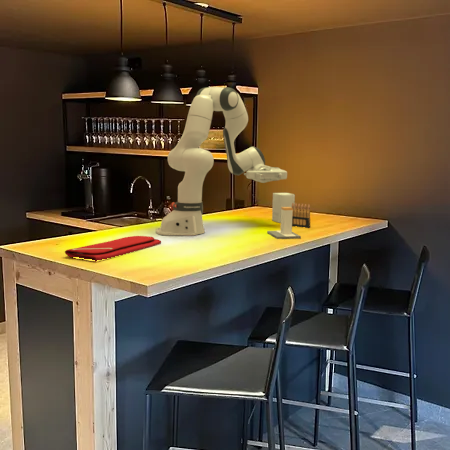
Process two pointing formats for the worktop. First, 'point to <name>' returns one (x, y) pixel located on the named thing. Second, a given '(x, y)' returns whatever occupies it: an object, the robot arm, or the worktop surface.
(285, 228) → the orange-capped beige pillar
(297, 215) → the ammunition clip
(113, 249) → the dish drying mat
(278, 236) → the board
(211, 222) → the worktop surface
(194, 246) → the worktop surface
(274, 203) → the supplement box
